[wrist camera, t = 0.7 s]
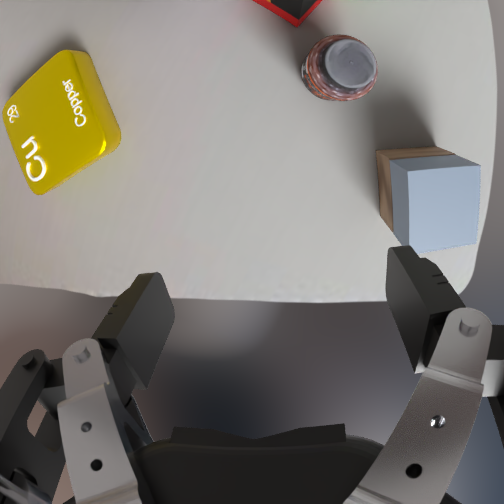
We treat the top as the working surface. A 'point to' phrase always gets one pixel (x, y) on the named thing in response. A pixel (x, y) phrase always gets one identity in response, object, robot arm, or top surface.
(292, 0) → the puzzle toy
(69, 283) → the top surface
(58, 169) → the element tile
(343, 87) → the supplement bottle
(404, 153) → the tower base block
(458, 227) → the tower top block
